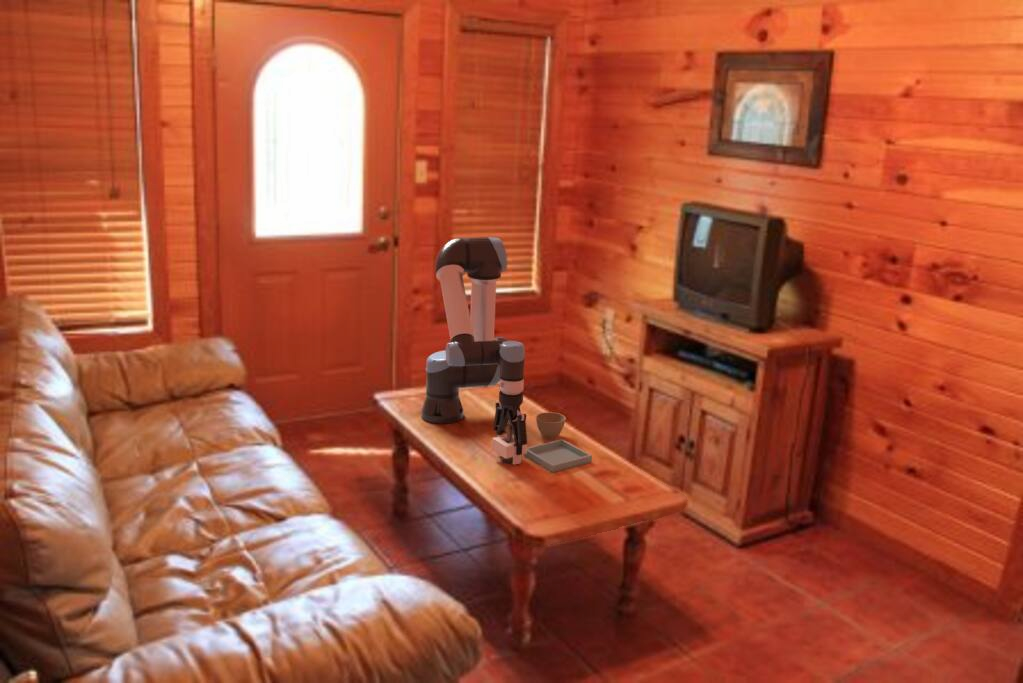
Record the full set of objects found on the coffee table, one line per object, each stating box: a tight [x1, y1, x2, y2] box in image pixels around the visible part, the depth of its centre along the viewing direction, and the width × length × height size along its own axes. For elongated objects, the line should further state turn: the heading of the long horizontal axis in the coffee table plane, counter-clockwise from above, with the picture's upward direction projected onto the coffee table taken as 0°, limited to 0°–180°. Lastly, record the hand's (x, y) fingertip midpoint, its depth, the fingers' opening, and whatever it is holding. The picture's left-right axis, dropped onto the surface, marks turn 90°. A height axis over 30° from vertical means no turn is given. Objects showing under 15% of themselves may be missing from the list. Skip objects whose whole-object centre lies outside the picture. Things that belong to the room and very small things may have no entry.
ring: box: [491, 434, 528, 459], centre depth 276 cm, size 8×8×4 cm
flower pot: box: [535, 411, 567, 441], centre depth 296 cm, size 10×10×7 cm
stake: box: [500, 423, 513, 464], centre depth 275 cm, size 5×5×12 cm
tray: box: [523, 438, 593, 474], centre depth 279 cm, size 16×16×2 cm
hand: (509, 458), depth 277 cm, fingers closed on ring, 8 cm apart
